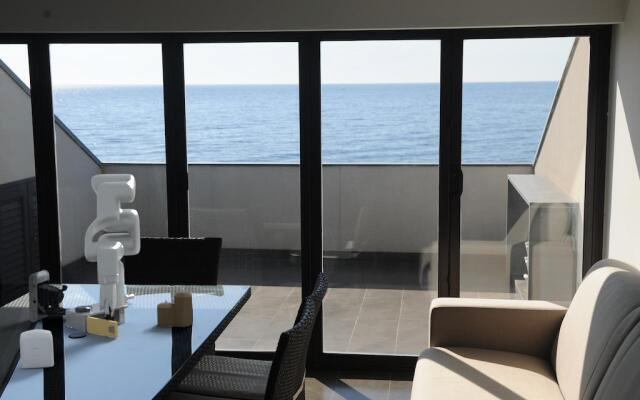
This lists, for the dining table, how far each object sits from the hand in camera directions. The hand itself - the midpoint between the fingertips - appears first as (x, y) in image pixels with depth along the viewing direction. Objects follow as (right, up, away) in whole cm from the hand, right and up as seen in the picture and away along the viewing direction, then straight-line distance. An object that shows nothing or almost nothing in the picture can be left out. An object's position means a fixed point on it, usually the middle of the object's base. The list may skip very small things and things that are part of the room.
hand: (109, 326), depth 297 cm
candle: (+23, -2, +15) cm, 27 cm away
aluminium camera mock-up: (-9, -2, +14) cm, 17 cm away
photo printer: (-14, -8, -38) cm, 41 cm away
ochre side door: (-3, -3, -2) cm, 5 cm away
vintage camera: (-28, -1, +21) cm, 35 cm away
